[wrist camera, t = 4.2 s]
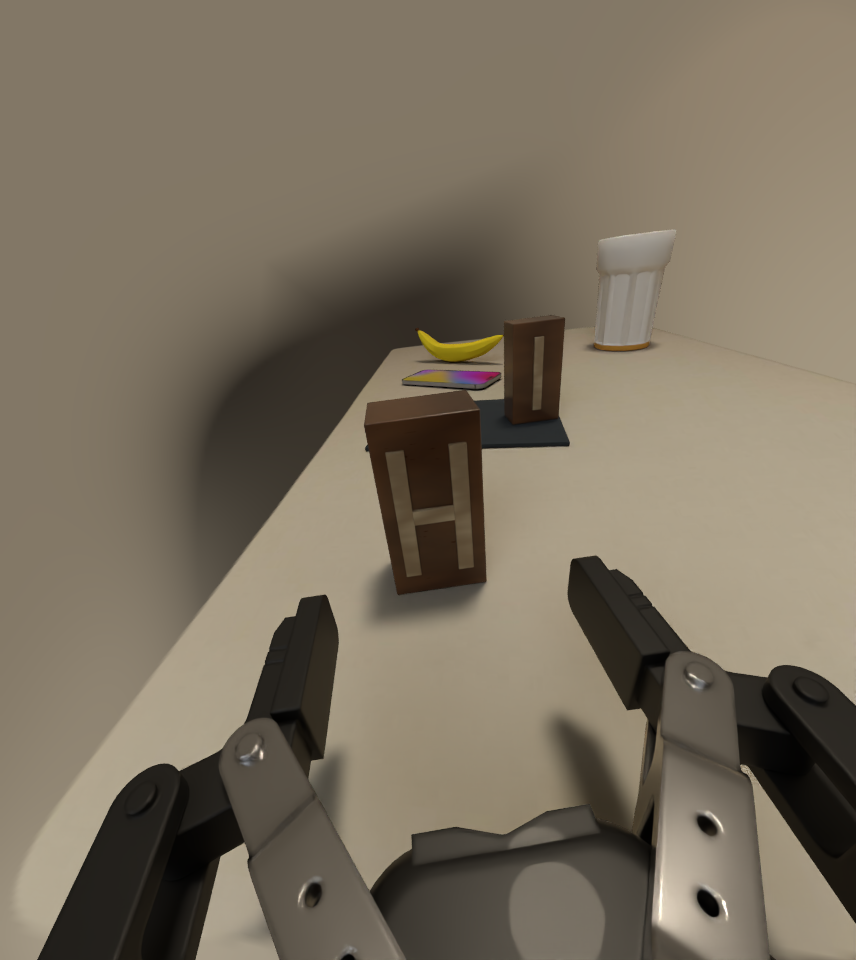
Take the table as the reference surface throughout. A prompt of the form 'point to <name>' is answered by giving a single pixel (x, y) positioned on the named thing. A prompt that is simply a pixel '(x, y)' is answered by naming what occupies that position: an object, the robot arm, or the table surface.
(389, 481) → the tile
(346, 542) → the table surface
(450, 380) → the smartphone
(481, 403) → the word mat
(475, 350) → the banana
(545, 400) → the tile
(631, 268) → the cup
